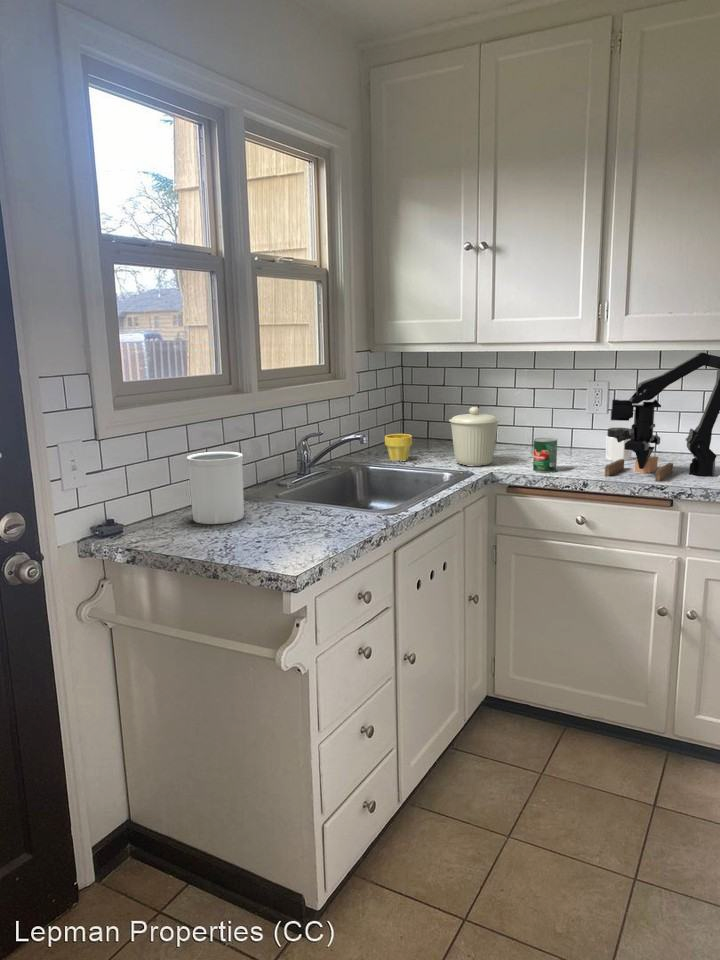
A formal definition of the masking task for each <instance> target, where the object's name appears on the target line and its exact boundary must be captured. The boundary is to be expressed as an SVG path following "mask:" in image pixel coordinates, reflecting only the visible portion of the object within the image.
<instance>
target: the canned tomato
mask: <svg viewBox="0 0 720 960" xmlns="http://www.w3.org/2000/svg"><path fill="white" fill-rule="evenodd" d="M557 457H558V439H557V438H554V437H537V438H533V459H532V461H533V463H532V465H533V466H532V467H533V468H532V471H533V472H534V471H535V473H539V474H540V473H541V474H546V473H547V474H551V472H552V473H555V471H556V472H557V461H558V460H557V459H558V458H557Z"/></svg>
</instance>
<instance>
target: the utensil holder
mask: <svg viewBox="0 0 720 960" xmlns="http://www.w3.org/2000/svg"><path fill="white" fill-rule="evenodd" d="M243 460H244V455H243V453H241V452H236V451H207V452H200V453H194V454H190V455H187V457H186V462H187V465H188V467H187V468H188V475H189V477H188V478H189V479H188V480H189V488H190V501H191V512H192V519H193V521H194V522H195V523H197V524H204V525H222V524H229V523H234V522H237V521H240V520H242V519H243V518H244V514H245V513H244V512H245V511H244V478H243V477H244V474H243Z"/></svg>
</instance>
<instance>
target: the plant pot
mask: <svg viewBox="0 0 720 960" xmlns="http://www.w3.org/2000/svg"><path fill="white" fill-rule="evenodd" d="M384 445H385V446H386V447H387V448H386V449H387V452H388V457H389V460H390V459H391V460H407V459H409V455H410V454H409V453H410V449H411V446H412V445H413V435H411V434H408V433H393V434H392V433H391V434H387V435H385V436H384ZM407 461H408V460H407Z"/></svg>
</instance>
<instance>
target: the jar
mask: <svg viewBox="0 0 720 960" xmlns="http://www.w3.org/2000/svg"><path fill="white" fill-rule="evenodd" d="M619 429H624V430H628V429H630V428H628V427H609V428H607V433H606V434H607V435H605V457H604V458H605V459H607V460H609V461H617V460H619V459H624V462H625V461H629V460H632V453H633V450H625V443H626V442H627V441H629V440H630V439H627V440H624V441H621V442H618V441H617V439H616V438H615V433H616V432H617V430H619Z"/></svg>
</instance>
